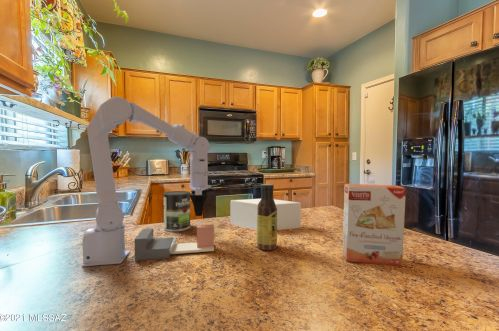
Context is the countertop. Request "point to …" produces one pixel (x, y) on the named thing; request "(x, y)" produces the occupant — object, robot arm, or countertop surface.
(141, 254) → the dispenser
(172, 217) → the coffee can
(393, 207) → the cracker box
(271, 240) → the sauce bottle
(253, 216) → the white rectangular box
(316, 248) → the countertop surface
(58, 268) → the countertop surface
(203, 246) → the pink and white block
